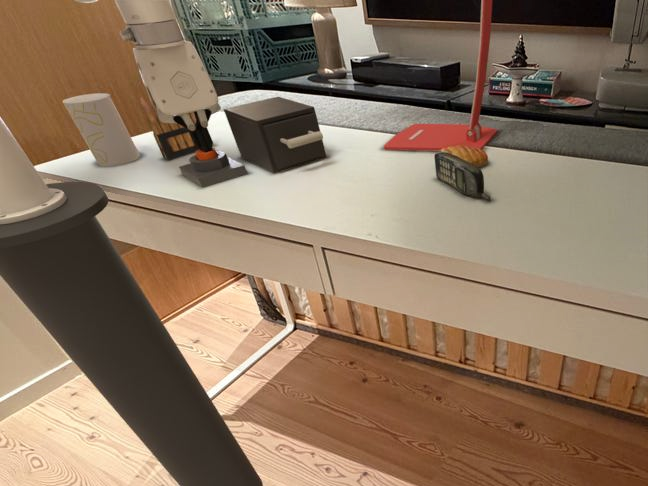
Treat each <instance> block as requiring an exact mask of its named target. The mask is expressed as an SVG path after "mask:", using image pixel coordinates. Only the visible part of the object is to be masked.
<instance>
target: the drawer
mask: <svg viewBox="0 0 648 486" xmlns="http://www.w3.org/2000/svg"><path fill="white" fill-rule="evenodd" d="M315 113H316V112H315ZM315 113H310V114H302V115H298V116H294V117H290V118H286V119H282V120H278V121H274V122H270V123H266V124H262V128H263V131H264V134H265V138H266V141H267V144H268V147H269V150H270V153H271V156H272V159H273V162H274V165H275V168H276V169H281V168H284V167H288V166H291V165H294V164H297V163H301V162H304V161H307V160H310V159H313V158H317V157H320V156H323V155H326V156H327V152H326V148H325V144H324V140H323V139H324V135H323V133H322V132H321V129H320V124H319V121H318V116H317V113H316V114H315Z"/></svg>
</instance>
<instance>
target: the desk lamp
mask: <svg viewBox="0 0 648 486" xmlns="http://www.w3.org/2000/svg"><path fill="white" fill-rule="evenodd" d="M480 2H481V3H480V23H479V24H480V26H479V42H478V43H479V44H478V54H477V64H476V76H475V84H474V85H475V86H474V93H473V100H472V106H471V113H470V121H469V124H464V123H463V124H461V123H460V124H459V123H414V124H412V125H410V126H407V127H406V128H404V129H402V130H401V131H399V132H398V133H396V134H395V135H394V136H393V137H391V138H390V139H389V140H388V141H387V142H386V143H385V144H383V149H384V150H387V151H388V150H389V151H440V152H441V149H443V148H448V147H456V146H458V145H460V146H463V147H464V146H467V147H472V148H474V149H476V148H480V149H482V150H484V148H485V147H486V146H487V144H489V142H491V140H492V139H493V138H494V137H495V136H496V134H498V129H497V128H493V127H486V126H482V125H481V123H480V122H479V121H480V115H481V109H482V104H483V98H484V93H485V86H486V79H487V70H488V63H489V62H488V61H489V54H490V53H489V52H490V43H491V30H492V13H493V0H481V1H480Z"/></svg>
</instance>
